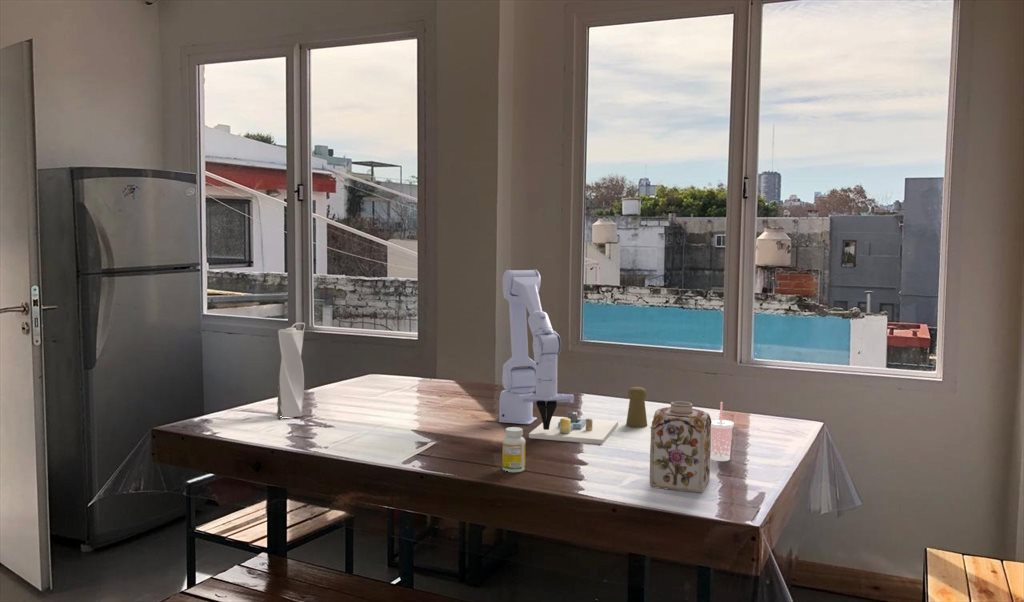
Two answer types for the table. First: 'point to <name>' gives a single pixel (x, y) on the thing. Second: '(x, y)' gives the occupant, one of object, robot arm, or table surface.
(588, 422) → the dowel
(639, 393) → the cork
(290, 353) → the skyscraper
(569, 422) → the square ring with handle
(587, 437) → the base plate
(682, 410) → the decorative jar
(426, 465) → the table surface
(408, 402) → the table surface
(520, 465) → the supplement bottle
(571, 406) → the table surface
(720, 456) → the beverage cup
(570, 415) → the post
